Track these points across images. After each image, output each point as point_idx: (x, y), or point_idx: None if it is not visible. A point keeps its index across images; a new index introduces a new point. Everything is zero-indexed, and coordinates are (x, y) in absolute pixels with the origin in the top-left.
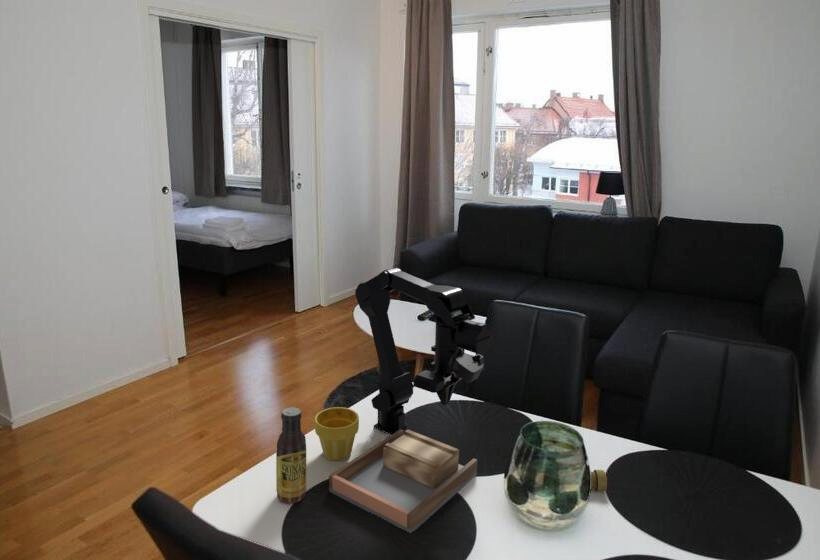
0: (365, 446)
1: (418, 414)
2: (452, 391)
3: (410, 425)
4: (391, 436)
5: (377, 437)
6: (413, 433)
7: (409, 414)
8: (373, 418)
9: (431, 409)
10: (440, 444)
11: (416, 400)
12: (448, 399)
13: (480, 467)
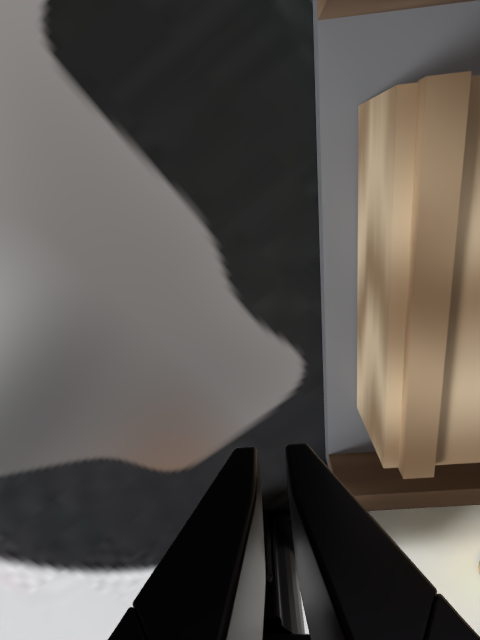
0: (429, 525)
1: (94, 536)
2: (169, 600)
3: (183, 509)
4: (427, 499)
5: None
6: (424, 433)
7: (123, 556)
8: None
9: (21, 527)
10: (445, 226)
11: (23, 596)
12: (258, 493)
13: (229, 37)
